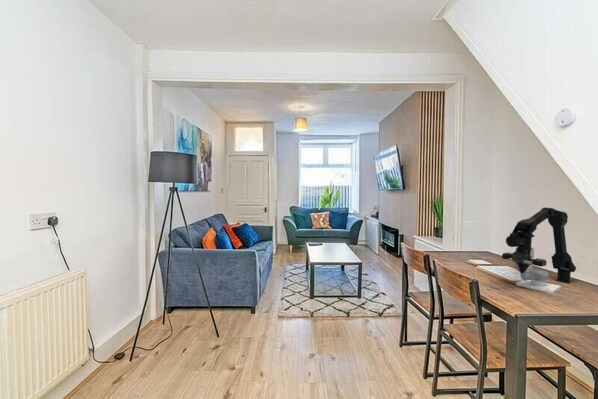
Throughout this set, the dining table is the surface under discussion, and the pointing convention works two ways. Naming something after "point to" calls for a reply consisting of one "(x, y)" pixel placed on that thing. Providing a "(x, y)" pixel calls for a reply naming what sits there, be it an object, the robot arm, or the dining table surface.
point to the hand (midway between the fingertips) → (522, 275)
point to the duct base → (549, 286)
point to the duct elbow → (535, 275)
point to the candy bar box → (530, 265)
